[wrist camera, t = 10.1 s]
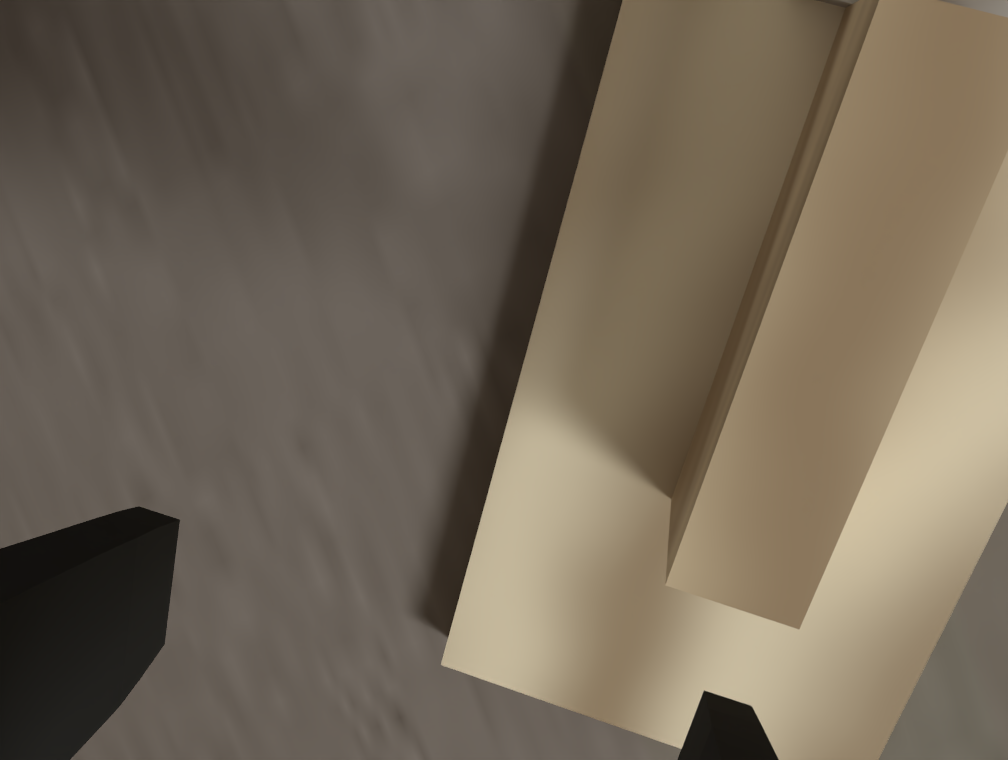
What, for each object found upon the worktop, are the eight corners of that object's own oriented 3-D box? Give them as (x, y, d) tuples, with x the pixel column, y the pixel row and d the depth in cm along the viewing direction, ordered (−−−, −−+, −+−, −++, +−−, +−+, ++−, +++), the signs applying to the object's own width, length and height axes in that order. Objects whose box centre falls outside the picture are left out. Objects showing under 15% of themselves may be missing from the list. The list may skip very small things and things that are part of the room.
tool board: (451, 641, 23) (440, 664, 22) (743, -421, 15) (746, -454, 14) (846, 777, 22) (853, 808, 21) (1371, -293, 14) (1419, -319, 13)
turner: (625, 484, 20) (611, 567, 16) (876, -267, 15) (928, -373, 11) (829, 549, 19) (857, 648, 16) (1155, -206, 14) (1296, -297, 11)
